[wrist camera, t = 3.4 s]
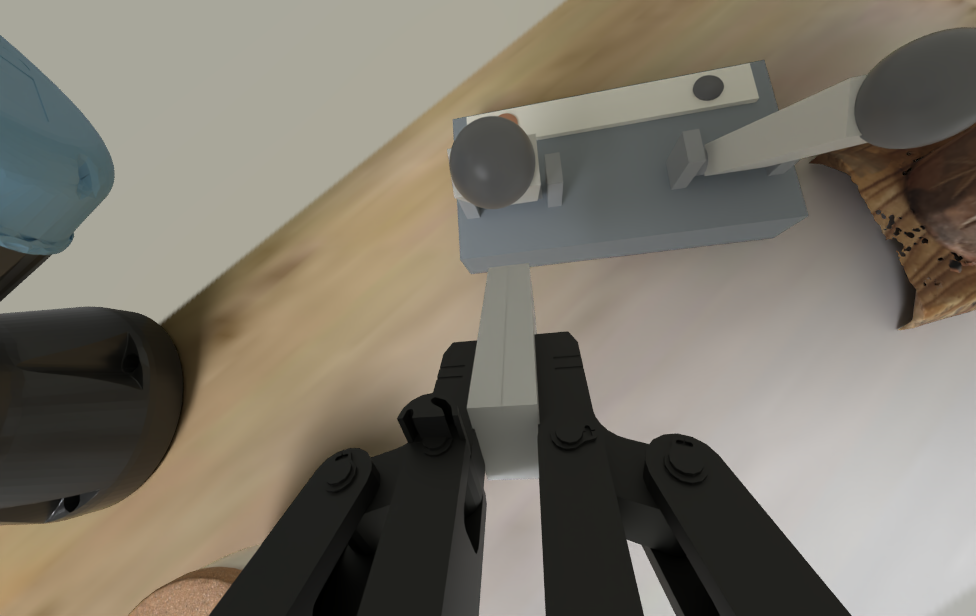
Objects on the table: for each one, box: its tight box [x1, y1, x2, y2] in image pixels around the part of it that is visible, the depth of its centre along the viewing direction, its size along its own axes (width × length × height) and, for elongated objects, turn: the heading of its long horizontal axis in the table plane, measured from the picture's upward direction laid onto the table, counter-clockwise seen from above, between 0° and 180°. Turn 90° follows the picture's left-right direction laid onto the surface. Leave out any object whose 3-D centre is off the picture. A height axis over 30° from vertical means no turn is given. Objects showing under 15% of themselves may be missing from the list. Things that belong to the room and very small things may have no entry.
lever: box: [695, 28, 976, 176], centre depth 14 cm, size 3×4×12 cm
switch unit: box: [453, 60, 808, 274], centre depth 21 cm, size 10×19×6 cm, turn 94°
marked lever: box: [447, 116, 542, 209], centre depth 16 cm, size 3×4×12 cm
